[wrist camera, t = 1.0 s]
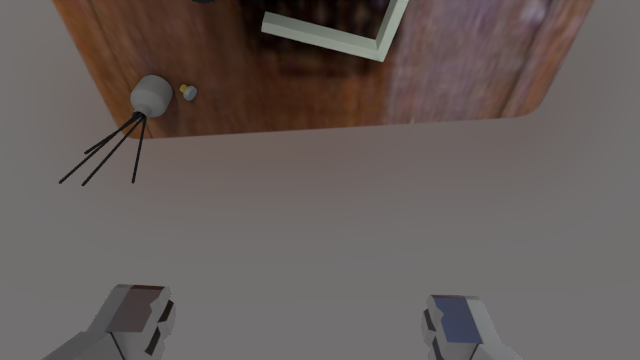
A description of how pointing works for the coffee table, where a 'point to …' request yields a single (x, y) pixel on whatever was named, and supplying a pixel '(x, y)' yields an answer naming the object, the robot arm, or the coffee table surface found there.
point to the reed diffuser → (141, 113)
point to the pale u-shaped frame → (339, 33)
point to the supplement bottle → (204, 1)
